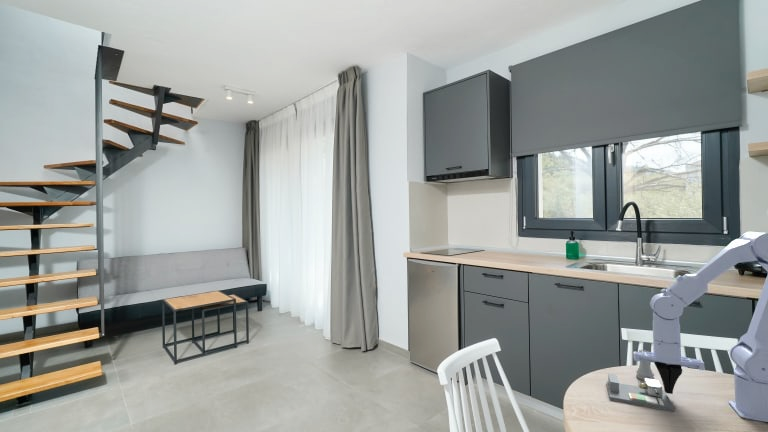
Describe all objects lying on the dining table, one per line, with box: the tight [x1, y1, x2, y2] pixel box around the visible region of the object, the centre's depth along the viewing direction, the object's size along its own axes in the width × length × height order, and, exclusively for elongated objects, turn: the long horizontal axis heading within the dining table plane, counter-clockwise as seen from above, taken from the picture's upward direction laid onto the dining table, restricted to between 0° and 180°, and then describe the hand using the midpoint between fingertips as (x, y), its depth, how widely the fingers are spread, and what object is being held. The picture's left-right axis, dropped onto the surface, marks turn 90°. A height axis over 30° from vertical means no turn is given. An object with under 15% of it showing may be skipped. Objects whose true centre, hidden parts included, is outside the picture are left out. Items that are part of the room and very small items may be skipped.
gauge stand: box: [606, 372, 676, 413], centre depth 94 cm, size 14×10×3 cm
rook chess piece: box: [635, 349, 656, 382], centre depth 105 cm, size 4×4×8 cm
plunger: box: [638, 378, 663, 398], centre depth 93 cm, size 4×8×2 cm, turn 152°
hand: (668, 391), depth 93 cm, fingers closed
